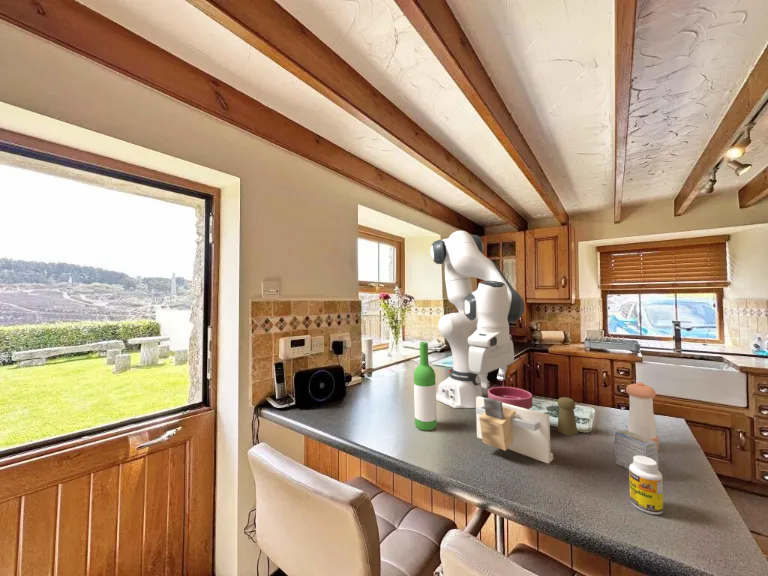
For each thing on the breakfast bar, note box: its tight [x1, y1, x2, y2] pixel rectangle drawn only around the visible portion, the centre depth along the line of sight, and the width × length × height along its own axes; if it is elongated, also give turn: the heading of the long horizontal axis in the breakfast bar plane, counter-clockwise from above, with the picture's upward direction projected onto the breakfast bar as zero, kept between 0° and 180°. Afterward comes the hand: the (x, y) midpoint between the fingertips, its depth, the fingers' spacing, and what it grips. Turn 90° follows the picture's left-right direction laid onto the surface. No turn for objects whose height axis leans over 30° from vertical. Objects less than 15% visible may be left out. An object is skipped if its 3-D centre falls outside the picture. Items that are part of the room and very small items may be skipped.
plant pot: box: [487, 386, 533, 410], centre depth 106 cm, size 14×14×13 cm
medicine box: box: [614, 429, 660, 471], centre depth 81 cm, size 8×4×9 cm, turn 17°
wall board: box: [475, 396, 554, 465], centre depth 92 cm, size 22×7×13 cm, turn 42°
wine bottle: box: [413, 341, 438, 431], centre depth 110 cm, size 8×8×30 cm
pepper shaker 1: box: [556, 396, 579, 436], centre depth 104 cm, size 6×6×11 cm
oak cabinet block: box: [479, 397, 516, 452], centre depth 90 cm, size 7×8×13 cm
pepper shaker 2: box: [625, 381, 660, 451], centre depth 93 cm, size 7×7×19 cm
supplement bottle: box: [628, 456, 664, 515], centre depth 67 cm, size 6×6×10 cm
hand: (493, 383), depth 89 cm, fingers open, 8 cm apart
